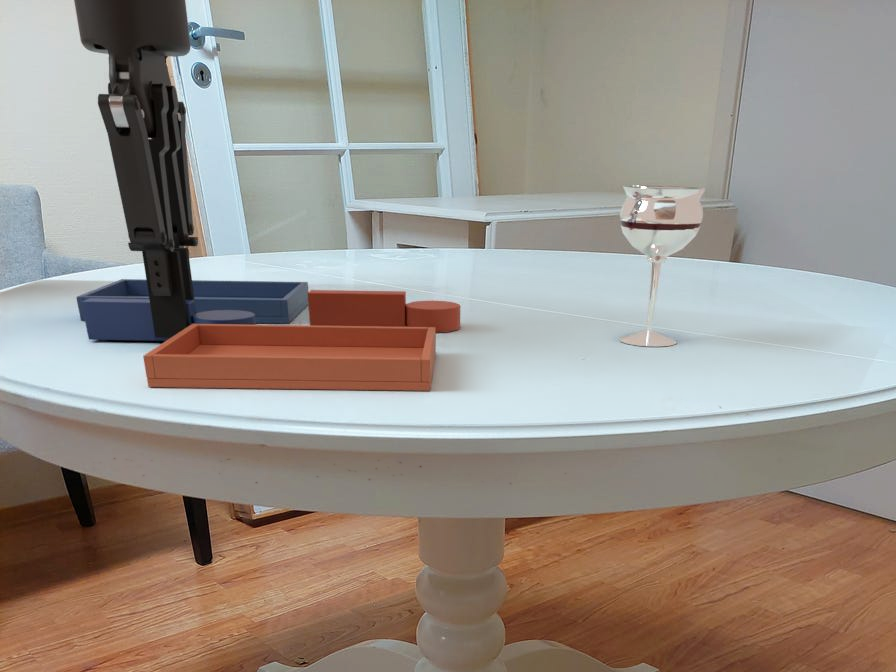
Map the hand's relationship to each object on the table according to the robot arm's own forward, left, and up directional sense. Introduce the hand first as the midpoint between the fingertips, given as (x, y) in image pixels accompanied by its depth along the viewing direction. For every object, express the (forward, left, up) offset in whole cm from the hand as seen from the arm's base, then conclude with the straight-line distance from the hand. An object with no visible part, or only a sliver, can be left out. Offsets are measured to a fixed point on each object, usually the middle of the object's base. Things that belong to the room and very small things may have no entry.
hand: (177, 333), depth 74 cm
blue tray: (-2, +15, -1) cm, 15 cm away
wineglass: (+40, +3, -1) cm, 40 cm away
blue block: (0, 0, 0) cm, 0 cm away
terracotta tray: (+12, -10, -1) cm, 16 cm away
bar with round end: (+17, +8, -1) cm, 19 cm away
